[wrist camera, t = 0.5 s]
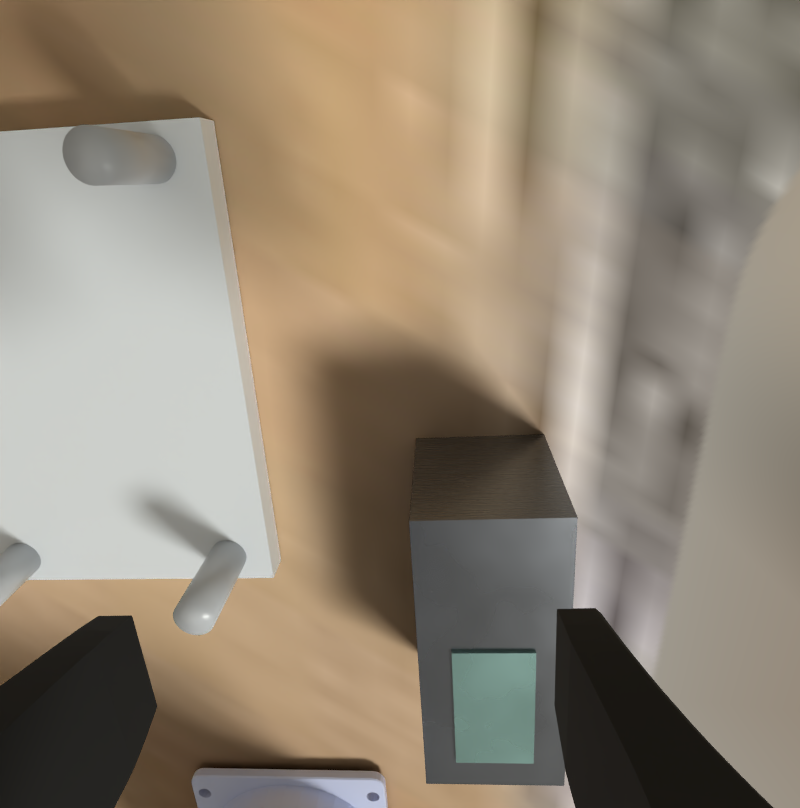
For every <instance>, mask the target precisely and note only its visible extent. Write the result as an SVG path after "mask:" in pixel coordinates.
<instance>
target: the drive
mask: <svg viewBox="0 0 800 808" xmlns="http://www.w3.org/2000/svg"><path fill="white" fill-rule="evenodd" d="M409 527H410V542H411V557H412V573H413V588H414V603H415V618H416V633H417V648H418V663H419V679H420V694H421V709H422V724H423V739H424V754H425V769H426V784H489V785H556V786H564V776H565V765H564V759H563V753H562V748H561V742H560V736H559V730H558V724H557V718H556V712H555V706H554V702H555V663H556V624H557V609H573V597H574V577H575V557H576V537H577V515H576V513H575V510H574V508H573V505H572V503H571V500H570V498H569V495H568V493H567V490H566V488H565V486H564V483H563V481H562V478H561V476H560V473H559V471H558V468H557V466H556V463H555V461H554V458H553V456H552V453H551V451H550V448H549V446H548V443H547V441H546V438H545V436H544V434H542V435H510V436H478V437H446V438H416V449H415V460H414V471H413V483H412V494H411V505H410V517H409Z"/></svg>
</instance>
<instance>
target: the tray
mask: <svg viewBox="0 0 800 808" xmlns="http://www.w3.org/2000/svg"><path fill="white" fill-rule="evenodd" d="M280 561H281V556H280V550H279V543H278V537H277V530H276V524H275V517H274V511H273V504H272V498H271V491H270V485H269V478H268V472H267V465H266V458H265V452H264V445H263V439H262V432H261V426H260V419H259V413H258V406H257V400H256V393H255V387H254V380H253V374H252V367H251V360H250V354H249V347H248V341H247V334H246V328H245V321H244V315H243V308H242V302H241V295H240V289H239V282H238V276H237V269H236V262H235V256H234V249H233V243H232V236H231V230H230V223H229V217H228V210H227V204H226V197H225V191H224V184H223V178H222V171H221V164H220V158H219V151H218V145H217V138H216V132H215V125H214V121H213V120H209V119H205V118H201V117H197V118H183V119H169V120H155V121H141V122H127V123H113V124H99V125H79V126H71V127H58V128H44V129H30V130H16V131H2V132H0V606H1V605H2V604H3V603H4V602H5V601H6V600H7V599H8V598H9V597H10V596H11V595H12V594H13V593H14V592H15V591H16V590H17V589H18V588H19V587H20V586H21V585H22V584H23V583H24V582H25V581H26V580H73V579H192V578H193V580H192V581H191V583H190V585H189V586H188V588H187V590H186V591H185V593H184V595H183V596H182V598H181V599H180V601H179V603H178V604H177V606H176V608H175V609H174V612H173V618H174V621H175V623H176V625H177V626H178V627H179V628H180V629H181V630H183V631H184V632H186V633H189V634H192V635H203V634H206V633H208V632H209V631H210V630H211V629H212V628H213V626H214V624H215V622H216V620H217V618H218V616H219V614H220V612H221V610H222V608H223V606H224V604H225V602H226V601H227V599H228V597H229V595H230V593H231V591H232V589H233V587H234V585H235V583H236V581H237V579H238V578H274V576H275V573H276V571H277V568H278V566H279V564H280Z"/></svg>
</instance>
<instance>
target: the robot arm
mask: <svg viewBox="0 0 800 808" xmlns="http://www.w3.org/2000/svg"><path fill="white" fill-rule="evenodd" d="M554 706H555V712H556V718H557V724H558V730H559V736H560V742H561V748H562V753H563V759H564V765H565V770H566V774H567V778H568V782H569V786H570V789H571V793H572V797H573V800H574V804H575V808H773V807H772V806H771V805H770V804H769V803H768V802H767V801H766V800H765V799H764V798H763V797H762V796H761V795H760V794H759V793H758V792H757V791H756V790H755V789H754V788H753V787H751V785H750V784H749V783H748V782H747V781H746V780H745V779H744V778H743V777H741V775H740V774H739V773H738V772H737V771H736V770H735V769H734V768H733V767H732V766H731V765H730V764H729V763H728V762H727V761H726V760H725V759H724V758H723V757H722V756H721V755H720V754H719V753H718V752H717V751H716V749H715V748H714V747H713V746H712V745H711V744H710V743H709V742H708V741H707V740H706V739H705V738H704V737H703V736H702V735H701V733H700V732H699V731H698V730H697V729H696V728H695V727H694V726H693V725H692V724H691V723H690V721H689V720H688V719H687V718H686V717H685V716H684V714H683V713H682V712H681V711H680V710H679V709H678V708H677V707H676V705H675V704H674V703H673V702H672V701H671V700H670V699H669V697H668V696H667V695H666V694H665V693H664V692H663V691H662V689H661V688H660V687H659V686H658V685H657V684H656V682H655V681H654V680H653V679H652V678H651V676H650V675H649V674H648V673H647V672H646V670H645V669H644V668H643V667H642V665H641V664H640V663H639V662H638V660H637V659H636V658H635V657H634V656H633V654H632V653H631V652H630V651H629V649H628V648H627V647H626V645H625V644H624V643H623V642H622V640H621V639H620V638H619V636H618V635H617V634H616V633H615V631H614V630H613V629H612V627H611V626H610V625H609V623H608V622H607V621H606V619H605V618H604V617H603V615H602V614H601V613H600V612H599V611H598V610H597V609H596V608H585V609H557V624H556V663H555V702H554ZM156 708H157V704H156V700H155V697H154V693H153V690H152V686H151V682H150V679H149V675H148V672H147V668H146V665H145V661H144V657H143V654H142V650H141V647H140V643H139V639H138V636H137V632H136V629H135V625H134V621H133V618H132V616H98V617H96V618H95V619H93V620H92V621H90V622H89V623H87V624H86V625H84V626H83V627H81V628H80V629H78V630H77V631H75V632H74V633H73V634H71V635H70V636H68V637H67V638H65V639H64V640H63V641H61V642H60V643H59V644H57V645H56V646H54V647H53V648H52V649H50V650H49V651H48V652H46V653H45V654H43V655H42V656H41V657H39V658H38V659H37V660H35V661H34V662H33V663H31V664H30V665H29V666H27V667H26V668H24V669H23V670H22V671H20V672H19V673H18V674H16V675H15V676H13V677H12V678H11V679H9V680H8V681H7V682H5V683H4V684H2V685H1V686H0V808H114V807H115V805H116V803H117V801H118V799H119V797H120V795H121V794H122V792H123V790H124V788H125V786H126V784H127V782H128V780H129V778H130V775H131V773H132V771H133V769H134V767H135V764H136V762H137V759H138V757H139V754H140V752H141V749H142V747H143V744H144V742H145V739H146V736H147V733H148V731H149V728H150V725H151V722H152V719H153V717H154V714H155V711H156ZM192 787H193V791H194V795H195V799H196V803H197V807H198V808H388V805H387V794H386V783H385V778H384V776H383V775H382V774H381V773H379V772H376V771H351V770H295V769H238V768H200V769H198V770H196V772H195V773H194V775H193V778H192Z"/></svg>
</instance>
